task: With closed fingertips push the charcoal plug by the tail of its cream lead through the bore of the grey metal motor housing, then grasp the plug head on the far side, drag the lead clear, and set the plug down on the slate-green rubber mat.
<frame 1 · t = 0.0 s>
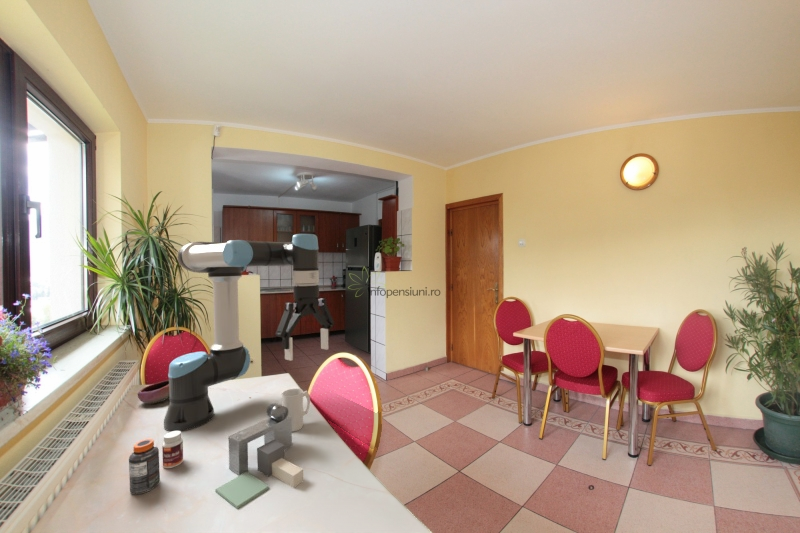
hand: (307, 354, 99), 28 cm above the table, fingers open, 13 cm apart
mat: (242, 490, 79), on the table
mug: (297, 426, 111), on the table
pill bottle: (173, 464, 91), on the table
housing: (256, 459, 92), on the table
bowl: (163, 400, 135), on the table
plug: (271, 468, 88), on the table
pill bottle 2: (145, 487, 81), on the table
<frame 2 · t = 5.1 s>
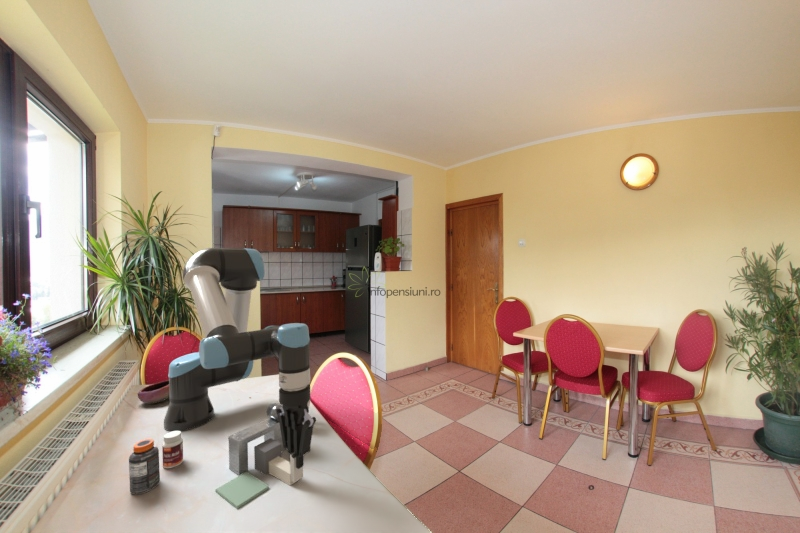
hand: (296, 478, 81), 1 cm above the table, fingers closed
plug: (268, 466, 88), on the table, touching gripper
everything else where it was.
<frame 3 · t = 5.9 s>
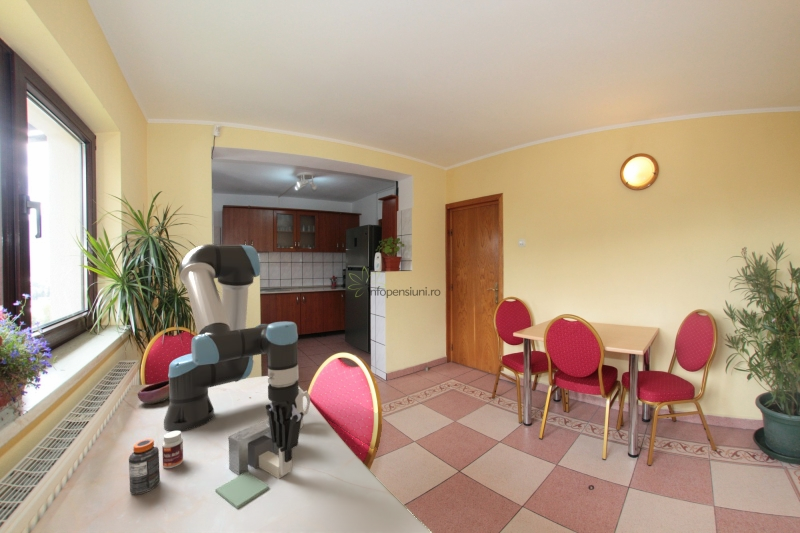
hand: (285, 471, 84), 1 cm above the table, fingers closed
plug: (258, 460, 91), on the table, touching gripper
everything else where it was.
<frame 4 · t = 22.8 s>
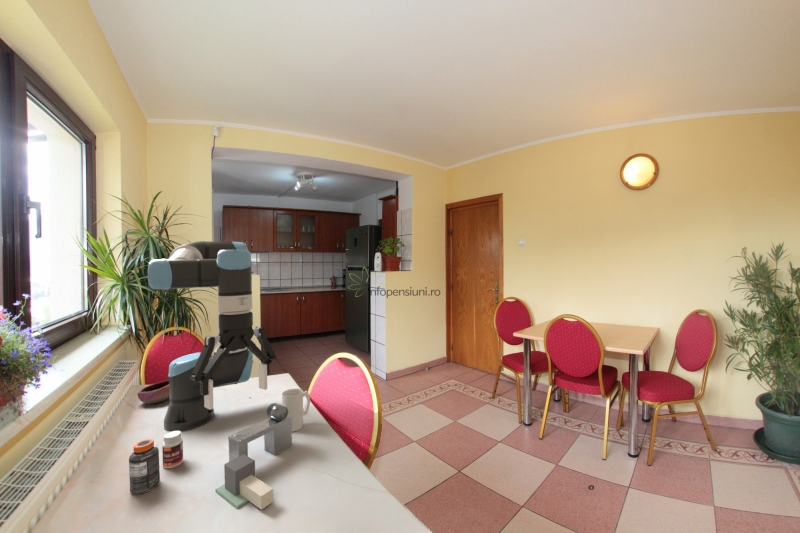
hand: (237, 397, 80), 23 cm above the table, fingers open, 13 cm apart
plug: (240, 486, 80), point 1 cm above the table, touching mat
everything else where it was.
at the end: plug inside the target area (0.9 cm from its centre), point 0.6 cm above the table; plug point 0.6 cm above the table; the gripper is holding nothing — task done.
